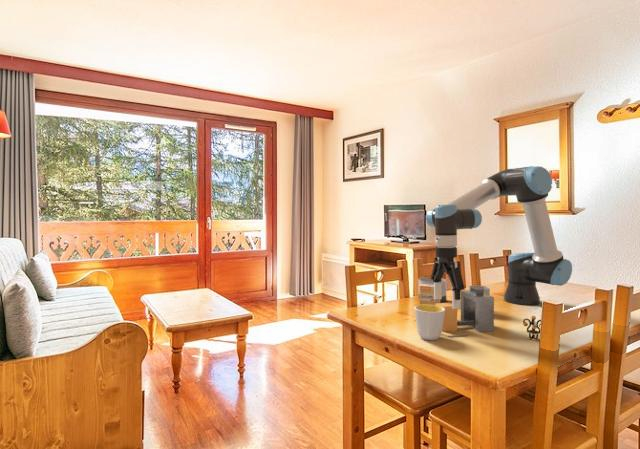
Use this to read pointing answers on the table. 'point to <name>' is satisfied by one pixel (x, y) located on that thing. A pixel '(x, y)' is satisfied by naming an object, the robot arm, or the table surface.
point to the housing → (478, 309)
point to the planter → (428, 281)
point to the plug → (452, 318)
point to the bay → (457, 335)
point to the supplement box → (427, 295)
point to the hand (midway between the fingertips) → (446, 303)
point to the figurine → (534, 326)
